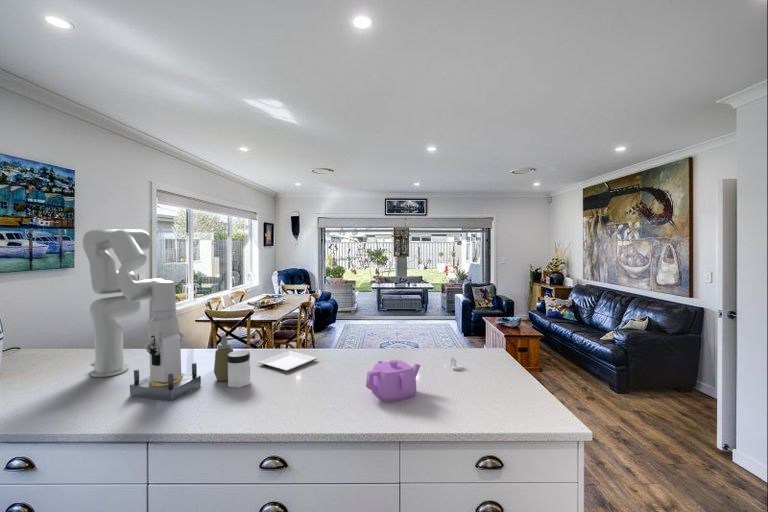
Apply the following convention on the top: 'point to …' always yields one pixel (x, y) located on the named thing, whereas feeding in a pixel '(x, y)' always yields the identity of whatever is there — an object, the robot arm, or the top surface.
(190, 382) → the grey pegged base
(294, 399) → the top surface
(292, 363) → the plate
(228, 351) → the squeeze bottle
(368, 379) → the teakettle
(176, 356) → the milk carton
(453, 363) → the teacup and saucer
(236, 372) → the jar
